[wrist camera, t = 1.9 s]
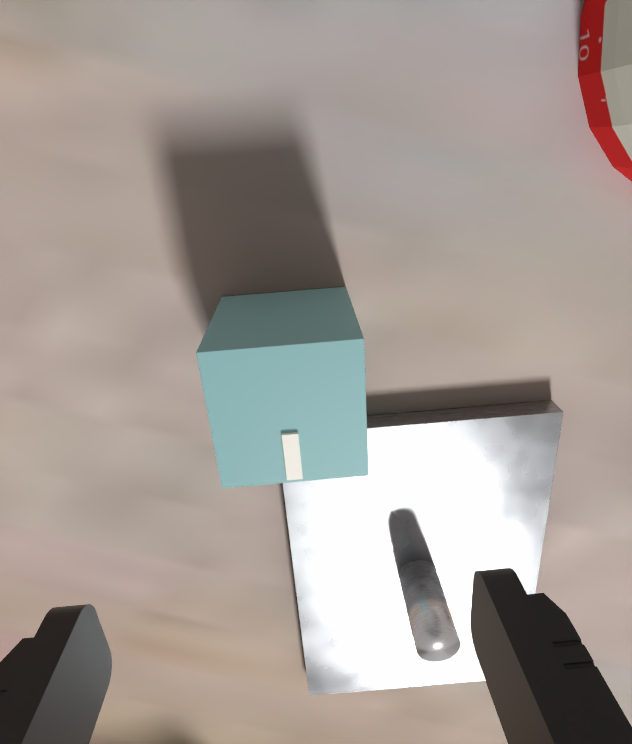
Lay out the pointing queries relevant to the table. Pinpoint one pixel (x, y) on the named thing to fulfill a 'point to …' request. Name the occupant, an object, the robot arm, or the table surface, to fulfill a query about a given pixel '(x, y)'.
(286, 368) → the teal plastic block
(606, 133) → the kitchen timer
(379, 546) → the shaft plate
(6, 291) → the table surface
